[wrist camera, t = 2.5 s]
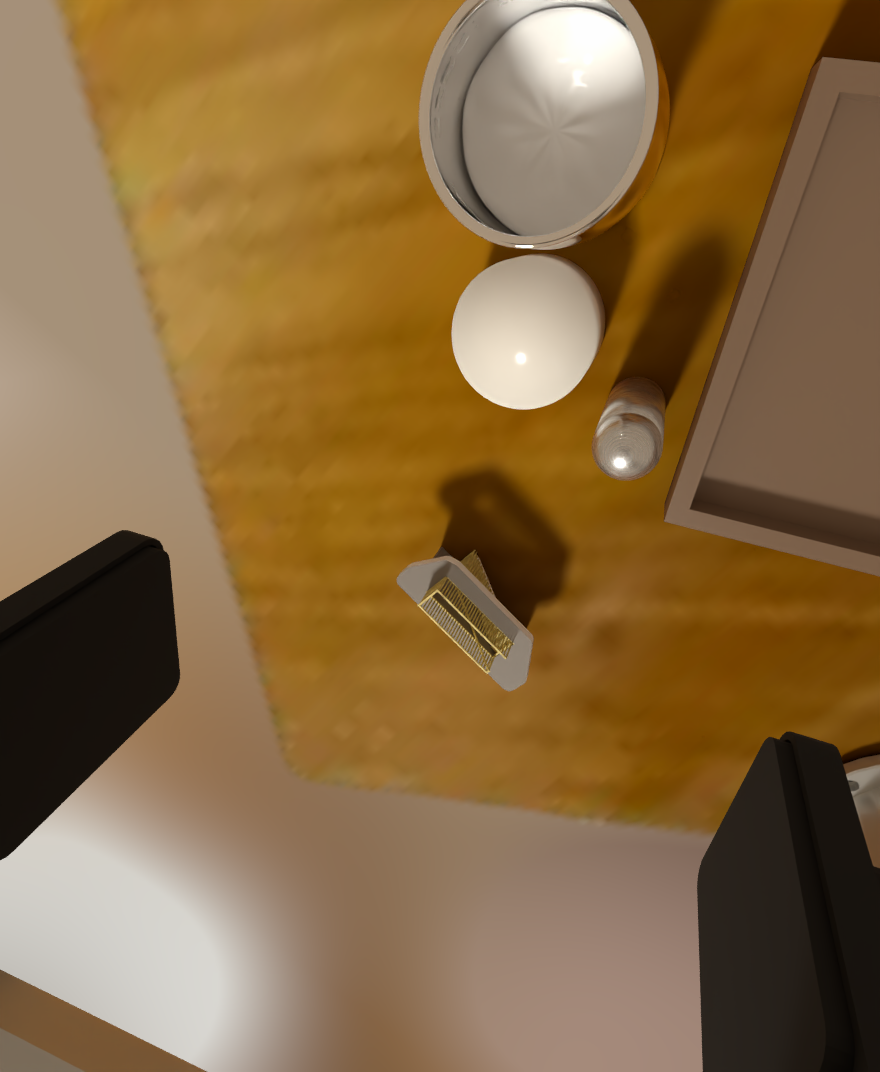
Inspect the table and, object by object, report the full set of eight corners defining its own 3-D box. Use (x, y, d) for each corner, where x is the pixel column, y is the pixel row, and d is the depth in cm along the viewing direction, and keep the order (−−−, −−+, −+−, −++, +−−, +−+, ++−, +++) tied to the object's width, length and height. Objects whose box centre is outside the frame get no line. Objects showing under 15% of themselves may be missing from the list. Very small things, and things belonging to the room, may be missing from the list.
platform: (458, 420, 39) (420, 456, 33) (659, 630, 40) (656, 698, 35) (343, 534, 45) (296, 580, 39) (523, 711, 47) (502, 780, 41)
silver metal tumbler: (620, 21, 28) (571, -132, 15) (702, 167, 29) (720, 139, 17) (491, 140, 31) (364, 97, 19) (570, 266, 33) (500, 305, 20)
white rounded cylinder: (588, 402, 35) (578, 422, 32) (466, 377, 37) (443, 393, 34) (620, 264, 32) (612, 270, 29) (484, 243, 34) (461, 246, 30)
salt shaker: (655, 437, 35) (650, 498, 28) (600, 425, 36) (580, 481, 28) (673, 383, 34) (671, 432, 26) (615, 371, 34) (597, 415, 27)
